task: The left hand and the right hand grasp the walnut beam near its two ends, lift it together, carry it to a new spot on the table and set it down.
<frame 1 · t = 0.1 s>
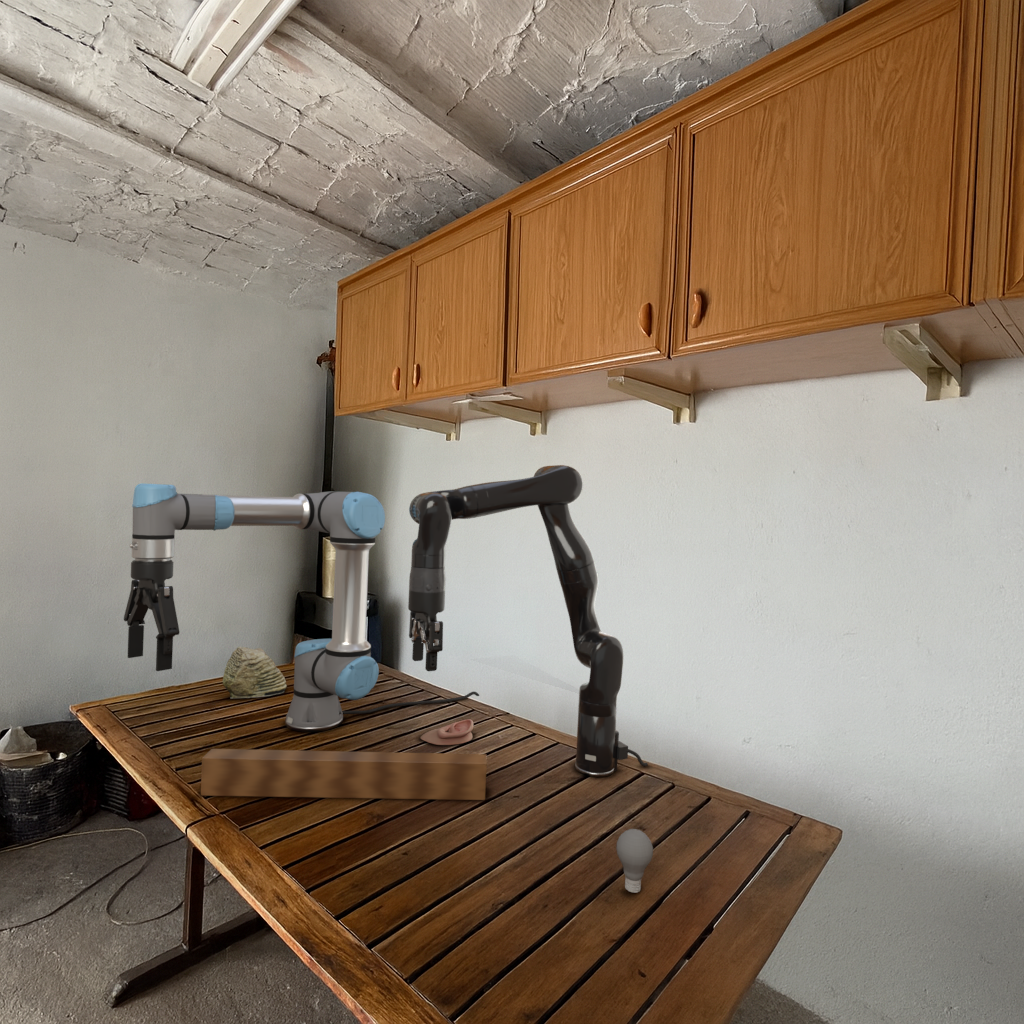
left hand: (149, 663, 129), 28 cm above the table, tool pointing down, fingers open, 13 cm apart
right hand: (424, 665, 132), 29 cm above the table, tool pointing down, fingers open, 8 cm apart
fossil: (254, 694, 198), on the table
beam: (347, 792, 136), on the table
light bulb: (632, 891, 106), on the table
anatomical model: (447, 738, 169), on the table
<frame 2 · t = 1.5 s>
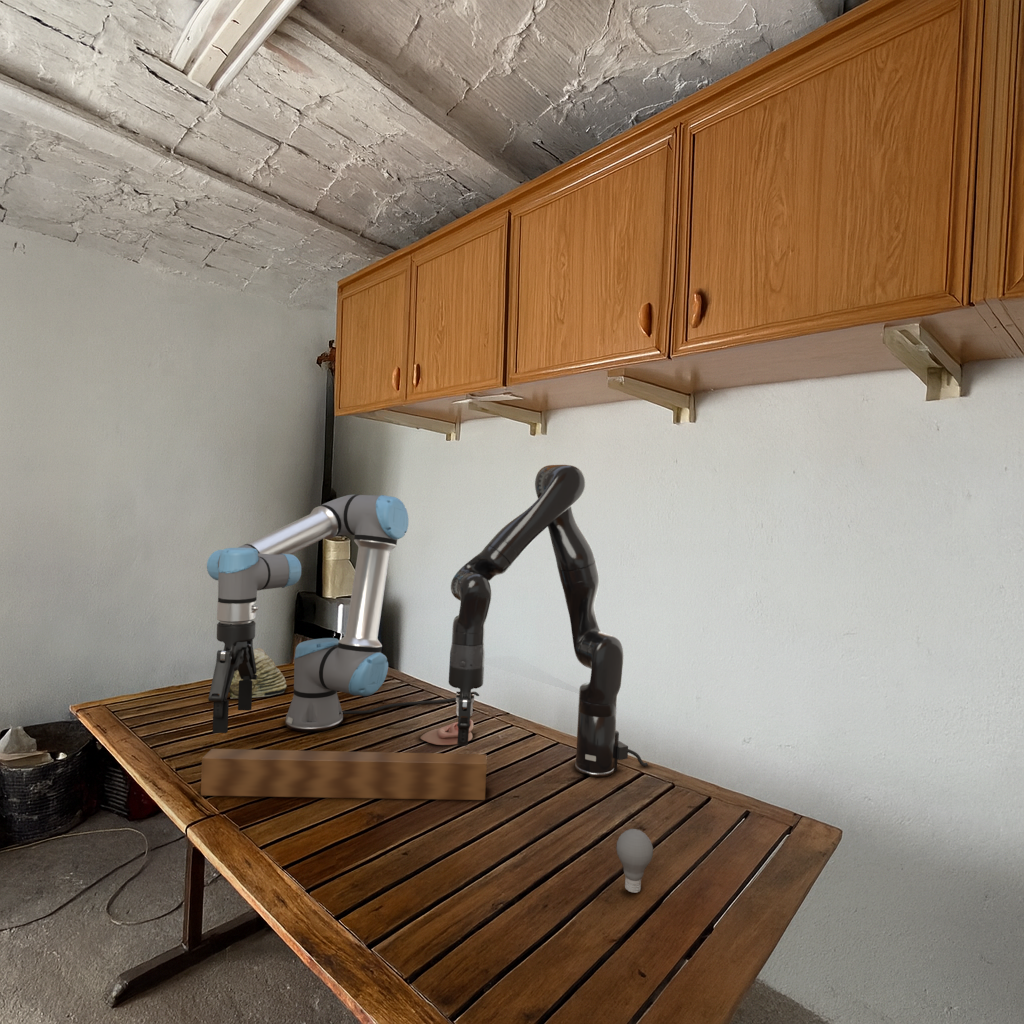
left hand: (233, 720, 135), 15 cm above the table, tool pointing down, fingers open, 13 cm apart
right hand: (463, 737, 137), 12 cm above the table, tool pointing down, fingers open, 8 cm apart
nothing on the table moved.
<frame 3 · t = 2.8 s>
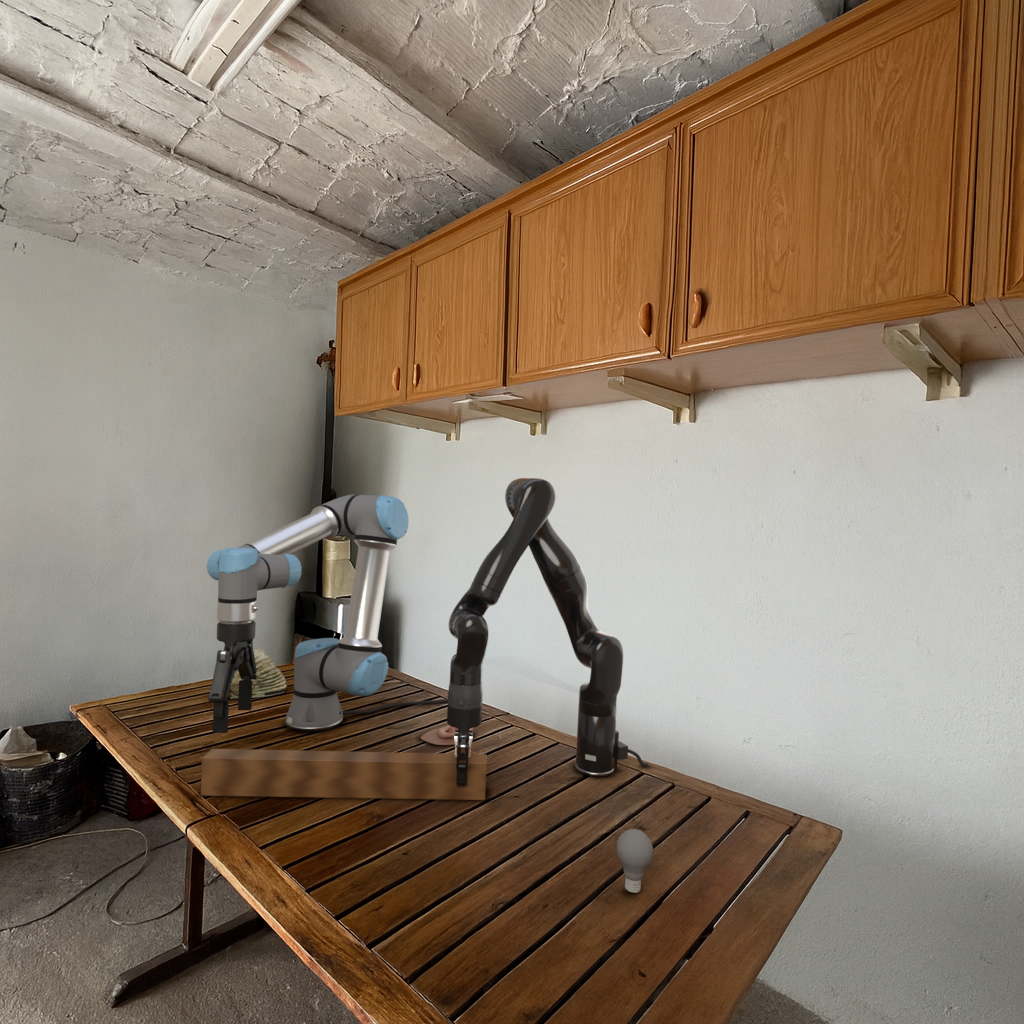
left hand: (233, 720, 135), 15 cm above the table, tool pointing down, fingers open, 13 cm apart
right hand: (461, 779, 138), 3 cm above the table, tool pointing down, fingers closed on beam, 5 cm apart
beam: (347, 792, 136), on the table, touching right hand
everything else where it was.
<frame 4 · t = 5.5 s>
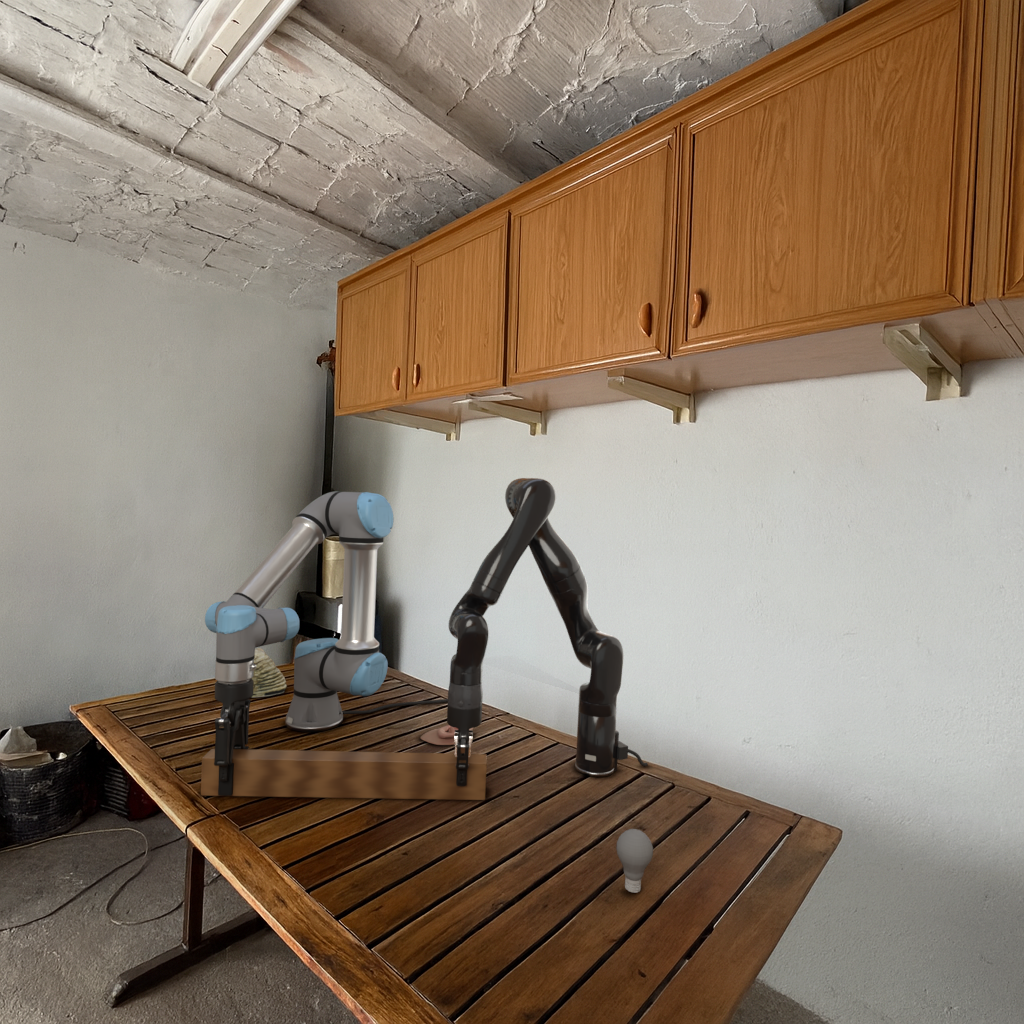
left hand: (230, 787, 135), 1 cm above the table, tool pointing down, fingers closed on beam, 5 cm apart
right hand: (461, 779, 138), 3 cm above the table, tool pointing down, fingers closed on beam, 5 cm apart
beam: (347, 792, 136), on the table, touching left hand, right hand
everything else where it was.
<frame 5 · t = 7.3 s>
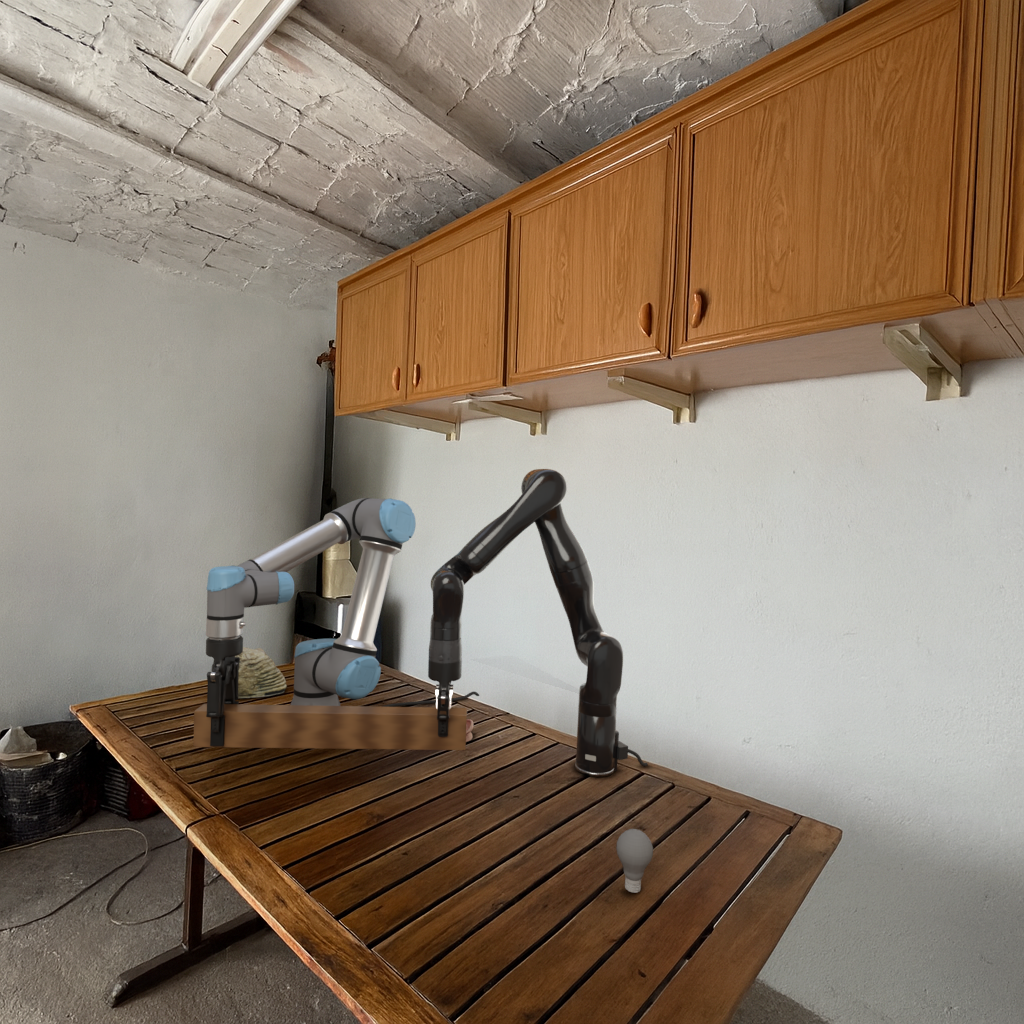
left hand: (222, 740, 141), 8 cm above the table, tool pointing down, fingers closed on beam, 5 cm apart
right hand: (443, 731, 144), 11 cm above the table, tool pointing down, fingers closed on beam, 5 cm apart
beam: (333, 744, 143), point 8 cm above the table, touching left hand, right hand
everything else where it was.
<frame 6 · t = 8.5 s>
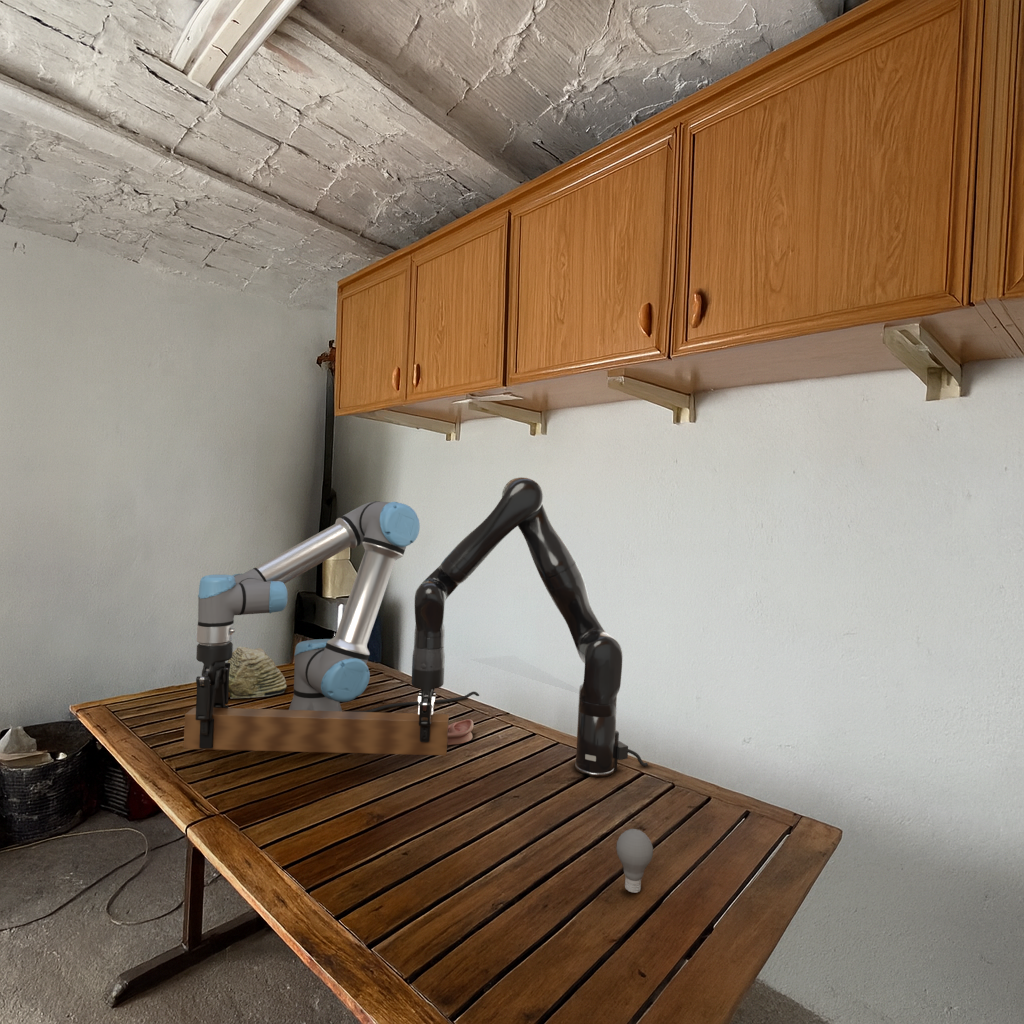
left hand: (211, 742, 146), 5 cm above the table, tool pointing down, fingers closed on beam, 5 cm apart
right hand: (425, 736, 149), 8 cm above the table, tool pointing down, fingers closed on beam, 5 cm apart
beam: (319, 747, 147), point 5 cm above the table, touching left hand, right hand
everything else where it was.
when the left hand's fingers open (2 cm above the table, at t = 9.3 s): beam drops 1 cm, on the table.
when the right hand's fingers open (4 cm above the table, at t = 9.5 s): beam stays where it is, on the table.
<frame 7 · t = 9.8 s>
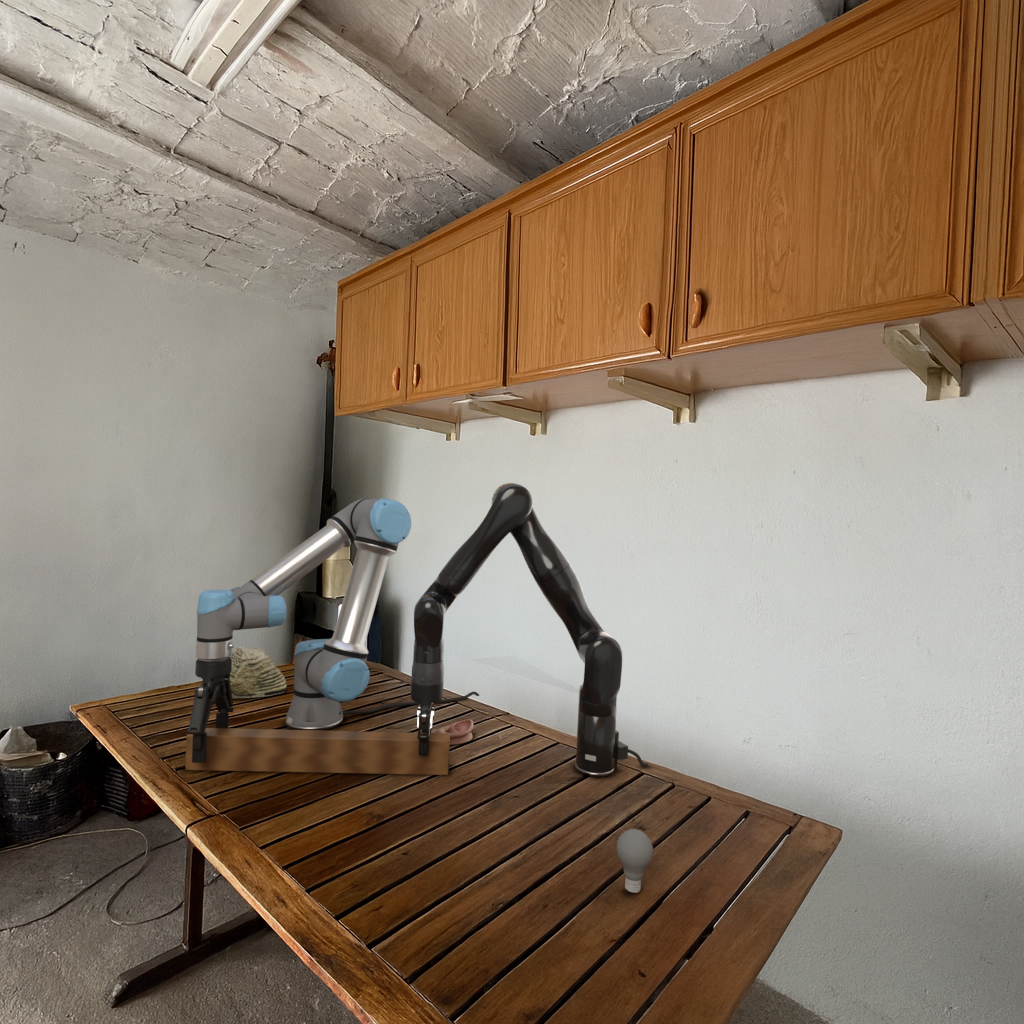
left hand: (210, 750, 146), 4 cm above the table, tool pointing down, fingers open, 12 cm apart
right hand: (424, 748, 149), 5 cm above the table, tool pointing down, fingers open, 7 cm apart
beam: (320, 768, 148), on the table
everything else where it was.
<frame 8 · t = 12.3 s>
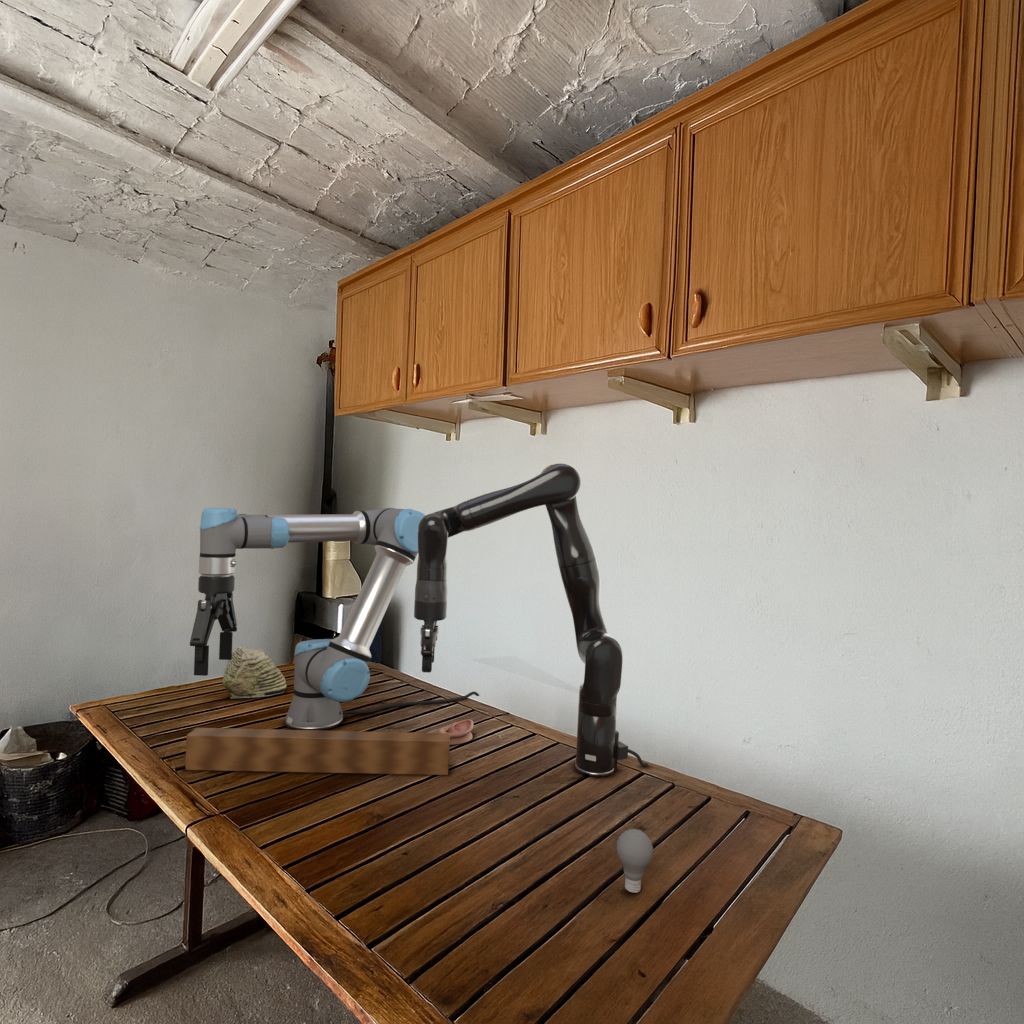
left hand: (213, 667, 146), 23 cm above the table, tool pointing down, fingers open, 13 cm apart
right hand: (428, 667, 149), 24 cm above the table, tool pointing down, fingers open, 8 cm apart
nothing on the table moved.
at the end: beam inside the target area (0.6 cm from its centre), on the table; beam tilted 0°; beam never tilted more than 2° during the clip; both hands held the beam at the same time; the left hand is holding nothing; the right hand is holding nothing; beam at rest at the end (0.0 cm/s) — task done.
